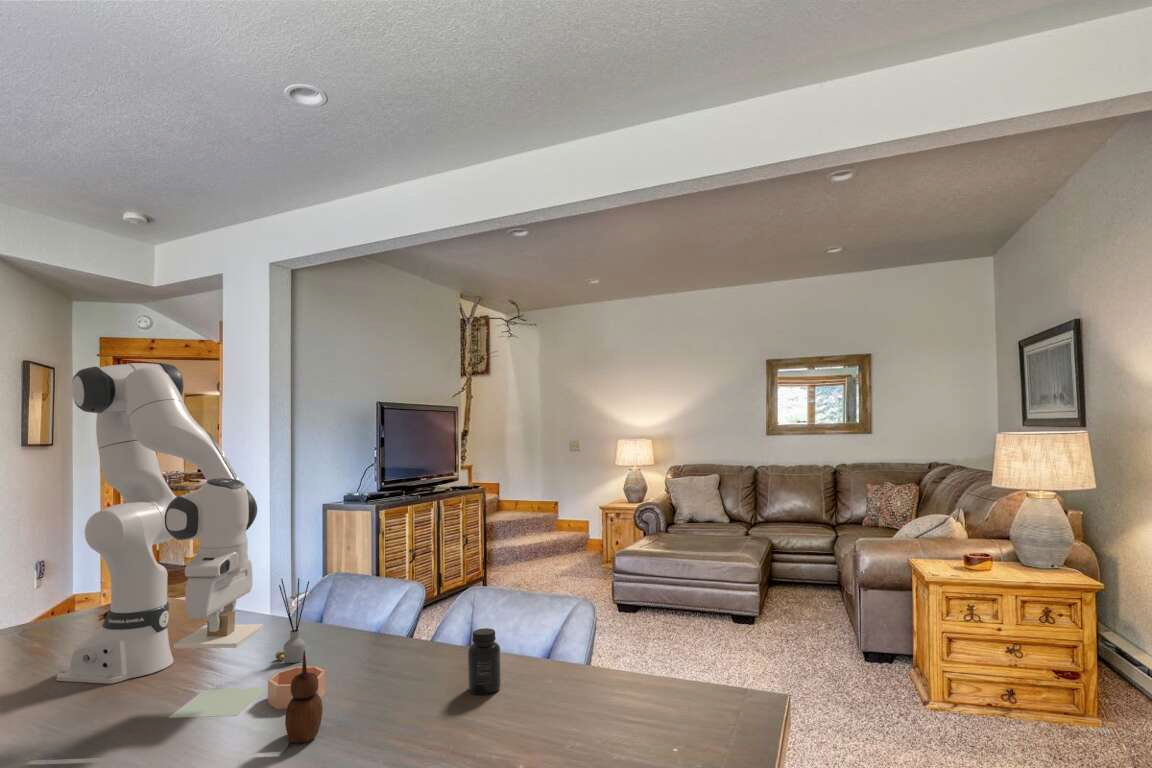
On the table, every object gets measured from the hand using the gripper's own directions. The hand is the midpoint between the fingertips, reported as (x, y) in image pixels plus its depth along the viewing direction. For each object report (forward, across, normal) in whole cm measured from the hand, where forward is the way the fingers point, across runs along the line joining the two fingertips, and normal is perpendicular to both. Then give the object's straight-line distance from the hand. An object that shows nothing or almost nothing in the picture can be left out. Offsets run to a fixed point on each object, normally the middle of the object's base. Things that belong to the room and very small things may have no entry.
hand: (220, 627), depth 132 cm
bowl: (+15, -1, +16) cm, 22 cm away
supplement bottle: (+15, -4, +54) cm, 56 cm away
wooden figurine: (+15, +16, +23) cm, 32 cm away
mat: (+15, 0, 0) cm, 15 cm away
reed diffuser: (+16, -22, +6) cm, 27 cm away
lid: (+2, 0, 0) cm, 2 cm away
